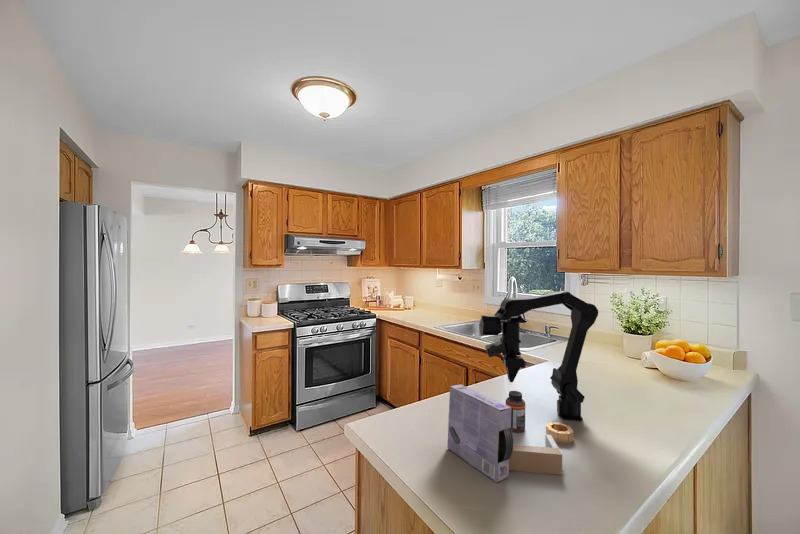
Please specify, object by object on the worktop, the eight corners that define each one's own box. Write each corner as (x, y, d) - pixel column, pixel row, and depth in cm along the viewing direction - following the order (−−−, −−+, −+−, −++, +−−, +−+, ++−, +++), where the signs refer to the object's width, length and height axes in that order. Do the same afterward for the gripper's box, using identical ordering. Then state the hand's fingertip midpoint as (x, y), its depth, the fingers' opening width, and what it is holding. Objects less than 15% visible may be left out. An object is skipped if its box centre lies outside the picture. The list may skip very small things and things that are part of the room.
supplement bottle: (502, 424, 109) (502, 389, 109) (520, 423, 110) (520, 389, 110) (510, 433, 103) (510, 396, 103) (528, 432, 104) (528, 396, 104)
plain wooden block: (551, 447, 96) (551, 429, 96) (566, 475, 83) (566, 455, 83) (492, 442, 98) (493, 425, 98) (498, 469, 85) (499, 449, 85)
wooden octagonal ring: (567, 433, 104) (567, 423, 104) (575, 444, 97) (575, 434, 97) (544, 431, 105) (544, 421, 105) (550, 442, 98) (550, 432, 98)
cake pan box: (514, 479, 81) (514, 406, 81) (500, 486, 78) (500, 411, 78) (459, 443, 97) (459, 382, 97) (446, 449, 95) (446, 386, 95)
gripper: (484, 329, 126) (484, 371, 126) (489, 340, 108) (489, 389, 108) (515, 330, 124) (515, 372, 124) (526, 341, 106) (525, 391, 106)
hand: (510, 380), depth 116 cm, fingers closed
